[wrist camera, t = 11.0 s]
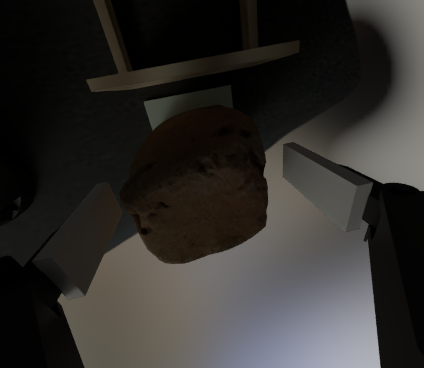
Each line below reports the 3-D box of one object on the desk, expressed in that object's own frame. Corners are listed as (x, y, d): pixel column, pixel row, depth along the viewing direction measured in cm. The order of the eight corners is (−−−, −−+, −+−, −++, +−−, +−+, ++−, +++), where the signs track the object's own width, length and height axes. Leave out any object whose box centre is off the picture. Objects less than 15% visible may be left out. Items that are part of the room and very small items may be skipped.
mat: (166, 172, 31) (166, 174, 30) (144, 101, 26) (143, 101, 25) (237, 158, 31) (238, 159, 31) (229, 85, 26) (230, 85, 25)
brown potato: (174, 168, 30) (159, 284, 12) (150, 123, 26) (82, 197, 9) (237, 142, 29) (315, 226, 12) (221, 92, 26) (300, 106, 8)
